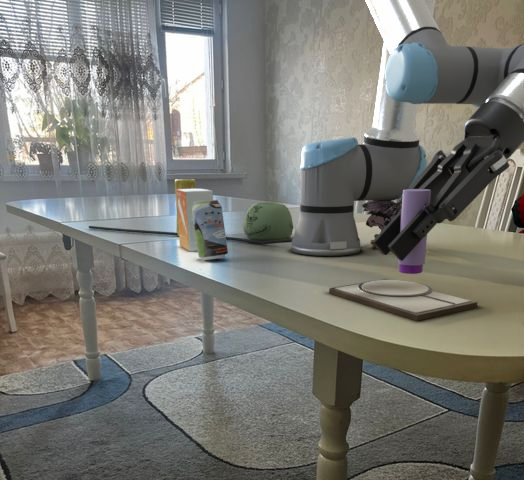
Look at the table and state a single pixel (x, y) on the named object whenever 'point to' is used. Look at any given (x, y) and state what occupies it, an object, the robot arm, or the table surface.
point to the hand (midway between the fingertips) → (387, 250)
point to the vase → (183, 185)
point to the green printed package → (209, 229)
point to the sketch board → (404, 298)
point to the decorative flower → (381, 213)
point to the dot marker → (410, 208)
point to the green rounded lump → (268, 222)
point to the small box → (189, 215)
